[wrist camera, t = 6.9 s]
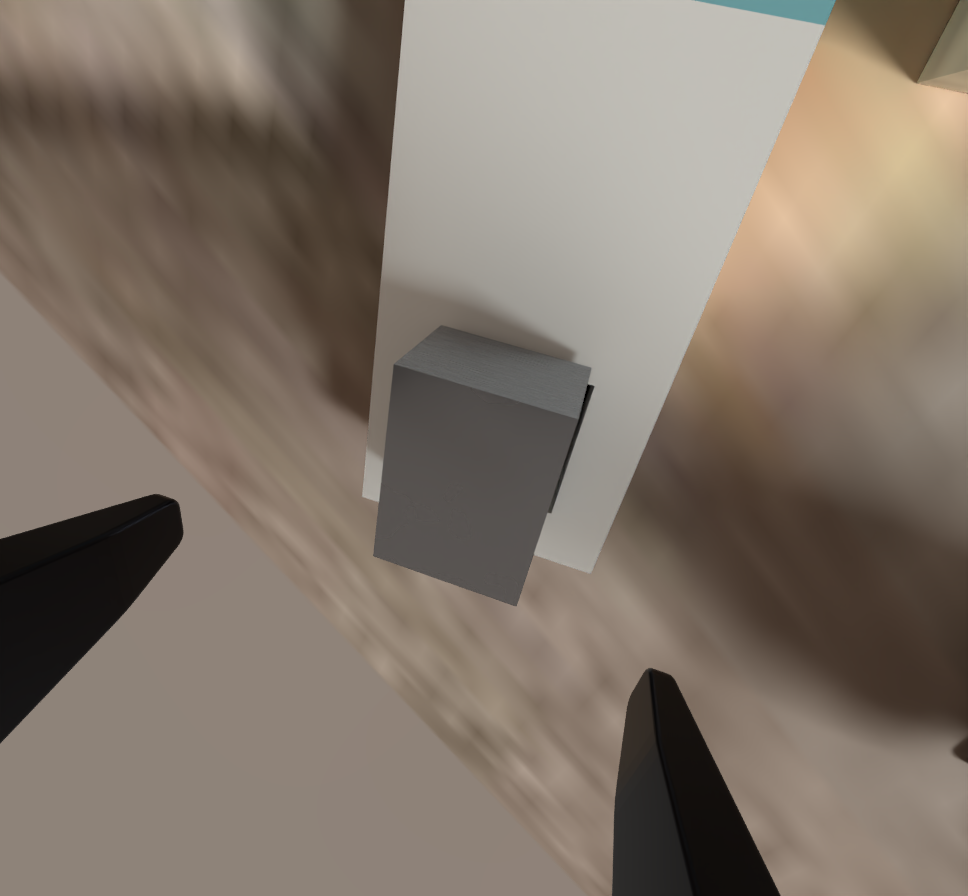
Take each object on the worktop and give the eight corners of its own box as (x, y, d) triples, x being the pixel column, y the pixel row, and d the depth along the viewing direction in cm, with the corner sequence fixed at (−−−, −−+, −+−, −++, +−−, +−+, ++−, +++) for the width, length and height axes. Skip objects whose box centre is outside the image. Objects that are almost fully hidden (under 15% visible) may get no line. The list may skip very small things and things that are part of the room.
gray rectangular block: (603, 323, 16) (578, 419, 10) (556, 468, 19) (516, 606, 13) (482, 291, 17) (393, 364, 11) (454, 436, 20) (373, 556, 14)
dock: (1038, -580, 8) (1266, -1010, 5) (599, 511, 20) (590, 574, 17) (539, -602, 9) (488, -969, 6) (402, 448, 21) (362, 496, 18)
